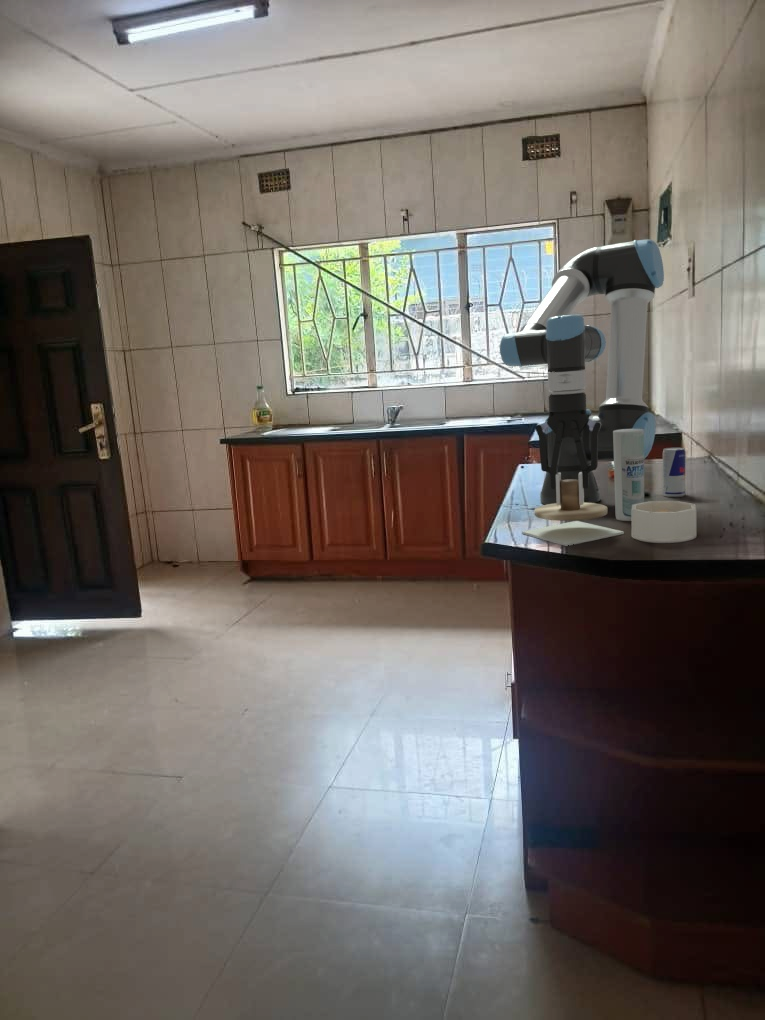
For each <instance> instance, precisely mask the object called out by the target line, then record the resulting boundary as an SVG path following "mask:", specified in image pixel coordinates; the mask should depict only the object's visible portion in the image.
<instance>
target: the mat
mask: <svg viewBox="0 0 765 1020" xmlns="http://www.w3.org/2000/svg"><path fill="white" fill-rule="evenodd" d="M624 533H625V531H622V530H619V529H613V528H610V527H606V526H601V525H597V524H593V523H590V522H589V523H587V522H583V521H581V520H577V521H567V522H563V523H558V524H553V525H548V526H544V527H543V526H542V527H539V528H533V529H528V530H523V531H521V534H522V535H524V536H525V535H526V536H530V537H532V538H537V539H539V540H542V541H546V542H550V543H554V544H557V545H561V546H564V547H568V545H569V546H573V544H574V545H578V544H582V543H587V542H592V541H596V540H600V539H606V538H610V537H615V536H620V535H624Z"/></svg>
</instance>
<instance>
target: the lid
mask: <svg viewBox="0 0 765 1020" xmlns="http://www.w3.org/2000/svg"><path fill="white" fill-rule="evenodd" d="M560 497H561V505H557V503H554V504H548V505H547V504H543V505H540V506H538V507H536V508H534V516H535V517H536V518H538V519H542V520H547V521H558V522H559V521H560V522H561V521H562V522H565V521H566V522H573V521H586V520H594V519H598V518H601V517H604V516H606V515H608V506H606V505H604V504H601V503H597V502H595V503H586V502H584V504H583V505H579V480H576V479H568V480H561V481H560Z"/></svg>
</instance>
